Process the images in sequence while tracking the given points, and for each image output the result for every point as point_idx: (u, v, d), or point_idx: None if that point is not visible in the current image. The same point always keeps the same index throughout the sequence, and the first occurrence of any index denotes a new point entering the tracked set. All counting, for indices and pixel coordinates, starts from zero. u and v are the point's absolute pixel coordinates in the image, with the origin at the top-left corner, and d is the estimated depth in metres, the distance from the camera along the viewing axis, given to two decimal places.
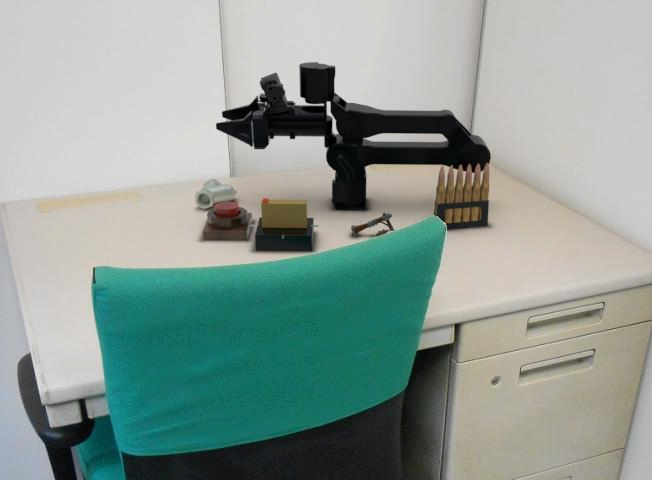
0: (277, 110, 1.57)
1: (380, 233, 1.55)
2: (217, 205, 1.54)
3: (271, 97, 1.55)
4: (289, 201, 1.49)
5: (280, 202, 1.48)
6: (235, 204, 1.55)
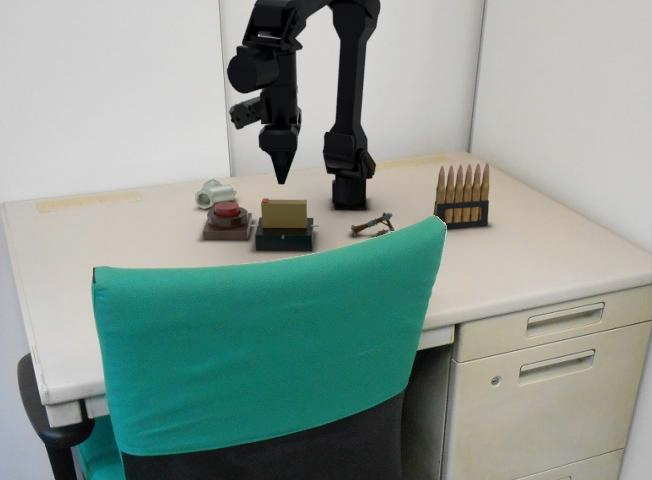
0: (263, 112, 1.38)
1: (380, 233, 1.55)
2: (217, 205, 1.54)
3: (247, 119, 1.37)
4: (289, 201, 1.49)
5: (280, 202, 1.48)
6: (235, 204, 1.55)
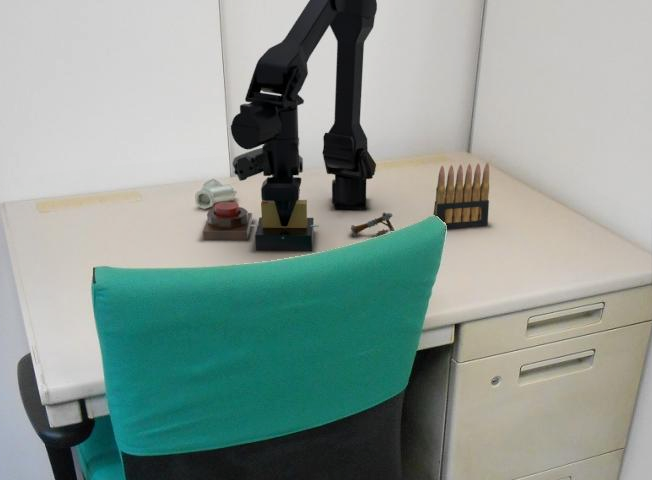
0: (265, 164, 1.42)
1: (380, 233, 1.55)
2: (217, 205, 1.54)
3: (250, 172, 1.41)
4: None
5: None
6: (235, 204, 1.55)
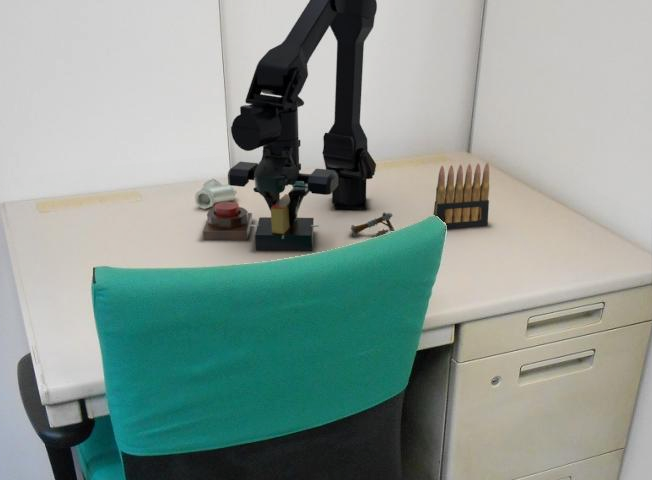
0: None
1: (380, 233, 1.55)
2: (217, 205, 1.54)
3: (296, 177, 1.40)
4: (286, 199, 1.49)
5: (284, 202, 1.48)
6: (235, 204, 1.55)
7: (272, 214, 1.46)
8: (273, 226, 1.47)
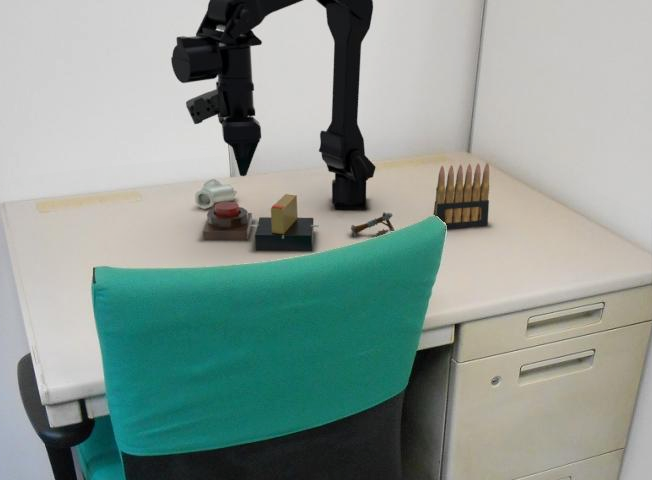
0: (222, 105, 1.40)
1: (380, 233, 1.55)
2: (217, 205, 1.54)
3: (207, 113, 1.39)
4: (286, 199, 1.49)
5: (284, 202, 1.48)
6: (235, 204, 1.55)
7: (272, 214, 1.46)
8: (273, 226, 1.47)
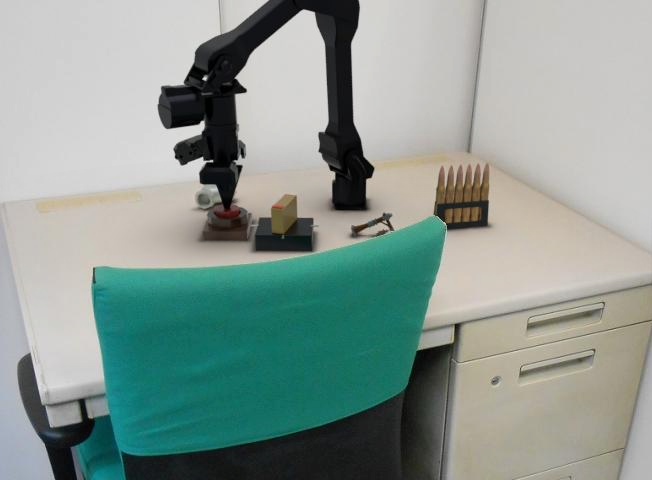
0: (205, 149, 1.46)
1: (380, 233, 1.55)
2: (217, 207, 1.55)
3: (189, 156, 1.45)
4: (286, 199, 1.49)
5: (284, 202, 1.48)
6: (235, 206, 1.55)
7: (272, 214, 1.46)
8: (273, 226, 1.47)
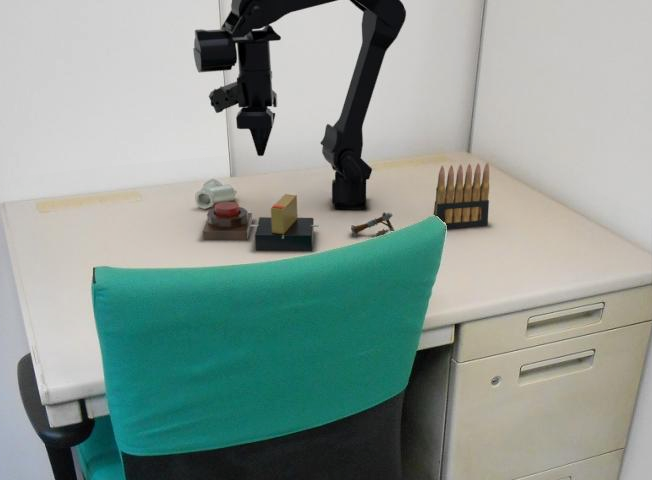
0: (240, 96, 1.49)
1: (380, 233, 1.55)
2: (217, 205, 1.54)
3: (225, 103, 1.49)
4: (286, 199, 1.49)
5: (284, 202, 1.48)
6: (235, 204, 1.55)
7: (272, 214, 1.46)
8: (273, 226, 1.47)
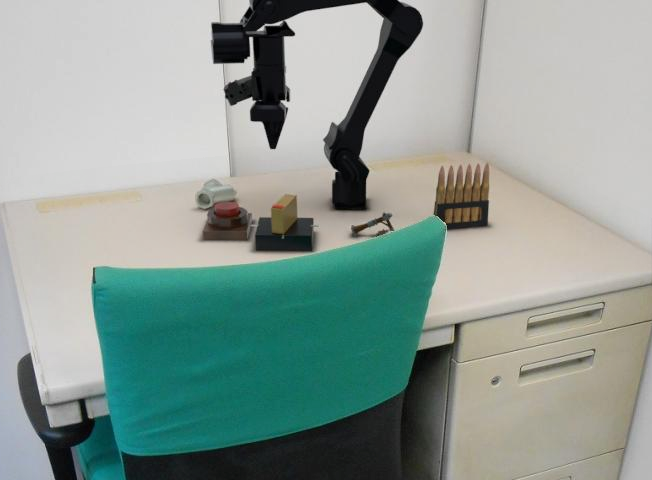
0: (254, 89, 1.52)
1: (380, 233, 1.55)
2: (217, 205, 1.54)
3: (240, 96, 1.51)
4: (286, 199, 1.49)
5: (284, 202, 1.48)
6: (235, 204, 1.55)
7: (272, 214, 1.46)
8: (273, 226, 1.47)
